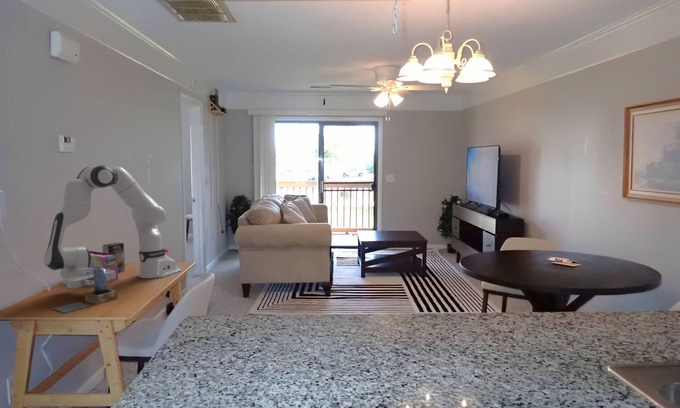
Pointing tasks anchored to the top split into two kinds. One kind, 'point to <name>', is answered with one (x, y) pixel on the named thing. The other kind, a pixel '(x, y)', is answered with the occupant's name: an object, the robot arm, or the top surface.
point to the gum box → (104, 261)
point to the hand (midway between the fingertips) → (100, 281)
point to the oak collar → (101, 296)
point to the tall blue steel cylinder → (100, 281)
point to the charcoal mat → (71, 307)
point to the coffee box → (118, 250)
